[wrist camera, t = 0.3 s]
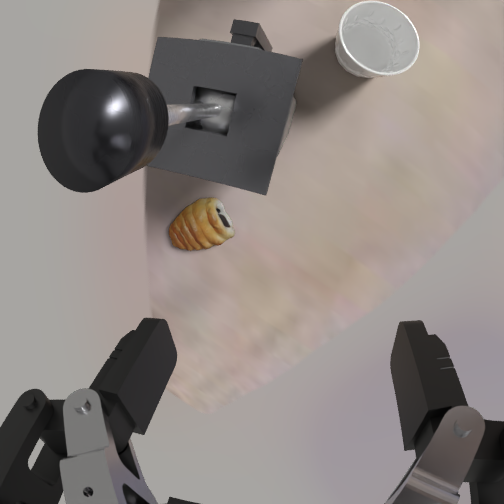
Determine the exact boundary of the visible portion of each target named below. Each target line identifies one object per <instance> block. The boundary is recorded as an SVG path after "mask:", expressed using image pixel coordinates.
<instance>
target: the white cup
mask: <svg viewBox="0 0 504 504" xmlns="http://www.w3.org/2000/svg"><path fill="white" fill-rule="evenodd" d="M418 53H419V38H418V34H417V31H416V29H415V27H414V25H413V24H412V22H411V21H410V20H409V19H408V17H407V16H406V15H405V14H404V13H402V12H401V11H400V10H398V9H397V8H395V7H393V6H391V5H389V4H387V3H383V2H379V1H363V2H360V3H357V4H355V5H353V6H351V7H350V8H349V9H348V10H347V11H346V12H345V13H344V14H343V16H342V18H341V21H340V24H339V28H338V31H337V35H336V41H335V54H336V57H337V60H338V62H339V63H340V65H341V66H342V67H343V68H344V69H345V70H346V71H347V72H349V73H351V74H353V75H355V76H357V77H367V78H374V77H383V76H390V75H396V74H400V73H402V72H404V71H406V70H407V69H409V68H410V67H411V66H412V65H413V64H414V62H415V61H416V59H417V56H418Z"/></svg>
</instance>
